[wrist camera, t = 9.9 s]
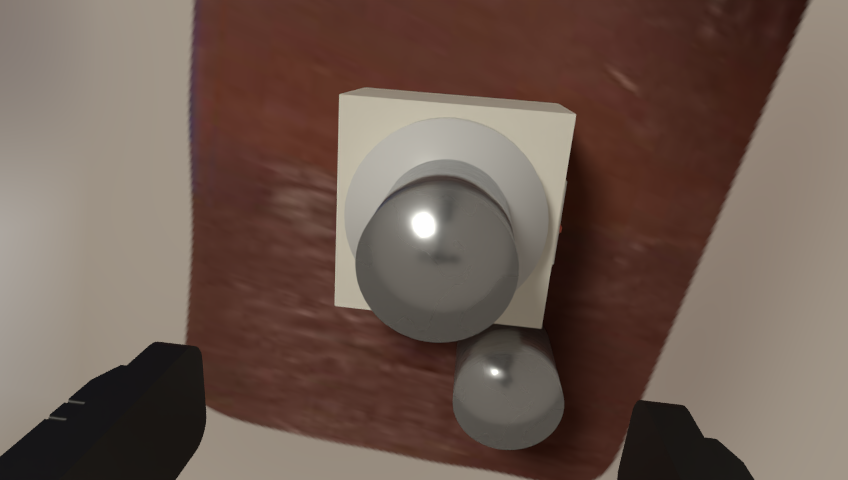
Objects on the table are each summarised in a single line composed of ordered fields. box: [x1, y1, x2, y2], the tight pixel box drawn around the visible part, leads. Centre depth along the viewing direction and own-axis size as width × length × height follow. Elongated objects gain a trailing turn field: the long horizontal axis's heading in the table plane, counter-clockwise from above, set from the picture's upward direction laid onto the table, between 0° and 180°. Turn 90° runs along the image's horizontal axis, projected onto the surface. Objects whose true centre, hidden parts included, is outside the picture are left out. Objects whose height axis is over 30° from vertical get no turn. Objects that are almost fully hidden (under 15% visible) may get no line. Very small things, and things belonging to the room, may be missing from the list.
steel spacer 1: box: [355, 159, 519, 343], centre depth 19 cm, size 5×5×5 cm
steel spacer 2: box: [453, 323, 564, 450], centre depth 27 cm, size 5×5×5 cm
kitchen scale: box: [335, 87, 576, 329], centre depth 24 cm, size 9×9×6 cm
